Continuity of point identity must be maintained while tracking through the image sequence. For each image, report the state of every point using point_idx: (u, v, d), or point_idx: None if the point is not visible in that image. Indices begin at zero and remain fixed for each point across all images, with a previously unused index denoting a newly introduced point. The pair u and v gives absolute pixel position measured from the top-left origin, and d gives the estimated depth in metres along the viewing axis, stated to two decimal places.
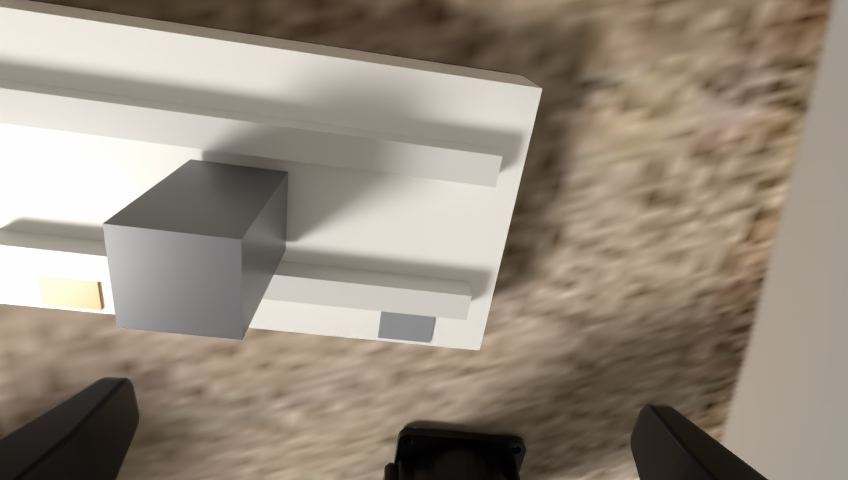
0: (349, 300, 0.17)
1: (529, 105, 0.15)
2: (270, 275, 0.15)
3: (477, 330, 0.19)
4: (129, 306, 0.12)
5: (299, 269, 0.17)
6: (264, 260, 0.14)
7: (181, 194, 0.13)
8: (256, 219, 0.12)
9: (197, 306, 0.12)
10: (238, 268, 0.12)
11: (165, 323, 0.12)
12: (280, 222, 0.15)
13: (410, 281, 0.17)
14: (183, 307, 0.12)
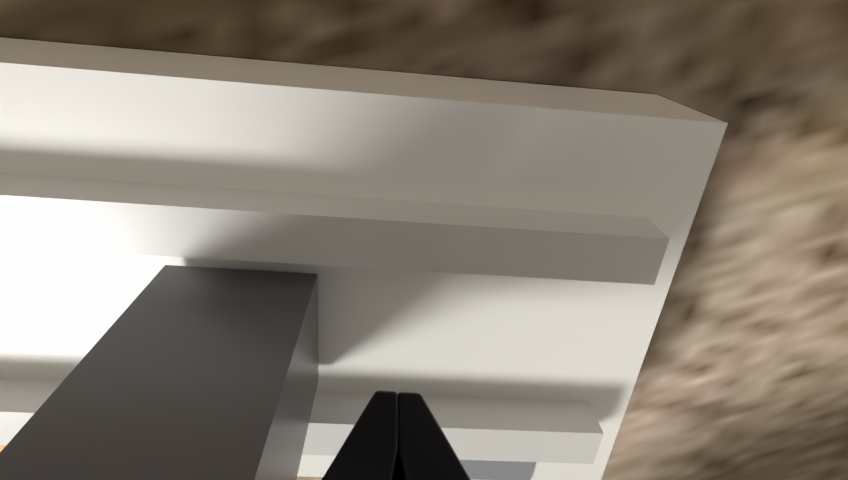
0: None
1: (703, 151, 0.10)
2: (300, 449, 0.09)
3: (597, 462, 0.13)
4: None
5: (344, 405, 0.12)
6: (291, 448, 0.08)
7: (141, 361, 0.07)
8: (275, 414, 0.07)
9: None
10: None
11: None
12: (310, 356, 0.10)
13: (508, 412, 0.12)
14: None
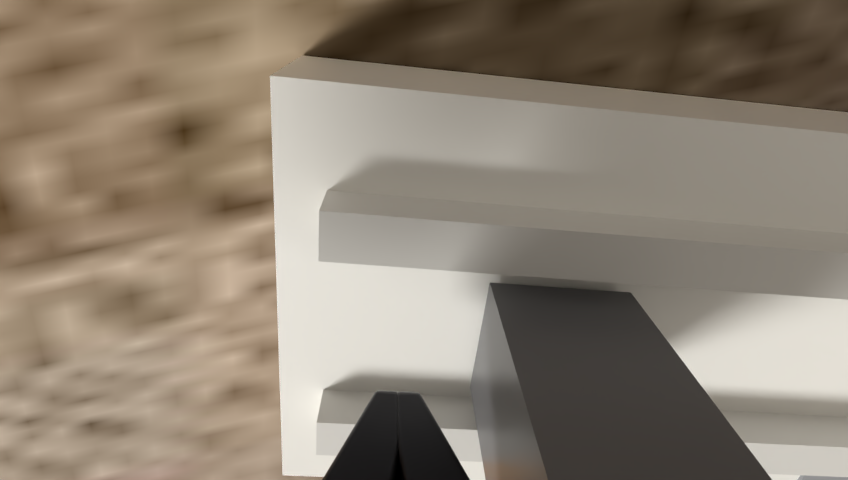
0: (812, 466, 0.12)
1: None
2: None
3: None
4: None
5: (737, 424, 0.12)
6: None
7: (571, 382, 0.08)
8: (736, 437, 0.07)
9: None
10: None
11: None
12: None
13: None
14: None
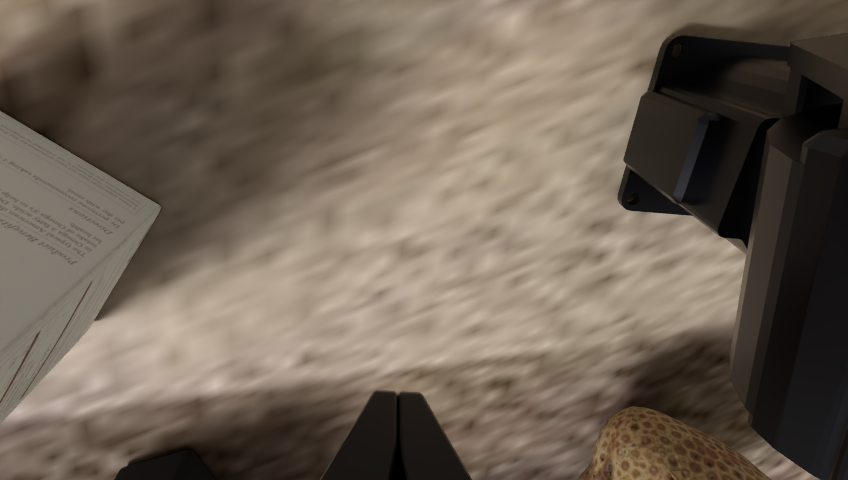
0: None
1: None
2: None
3: None
4: None
5: None
6: None
7: None
8: None
9: None
10: None
11: None
12: None
13: None
14: None
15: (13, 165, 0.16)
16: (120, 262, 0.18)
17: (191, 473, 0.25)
